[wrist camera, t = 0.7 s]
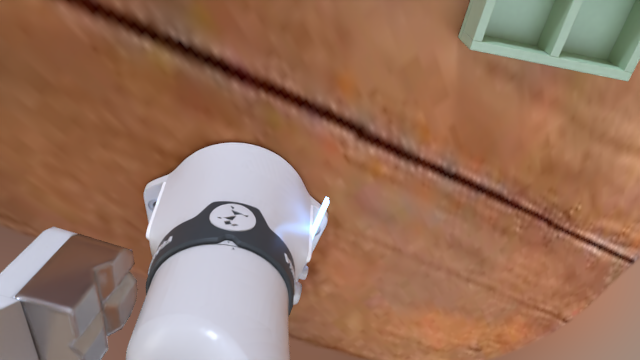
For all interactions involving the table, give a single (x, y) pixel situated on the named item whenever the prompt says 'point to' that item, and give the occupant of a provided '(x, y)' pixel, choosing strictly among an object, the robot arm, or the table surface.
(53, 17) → the table surface
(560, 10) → the compartment tray
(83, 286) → the robot arm
